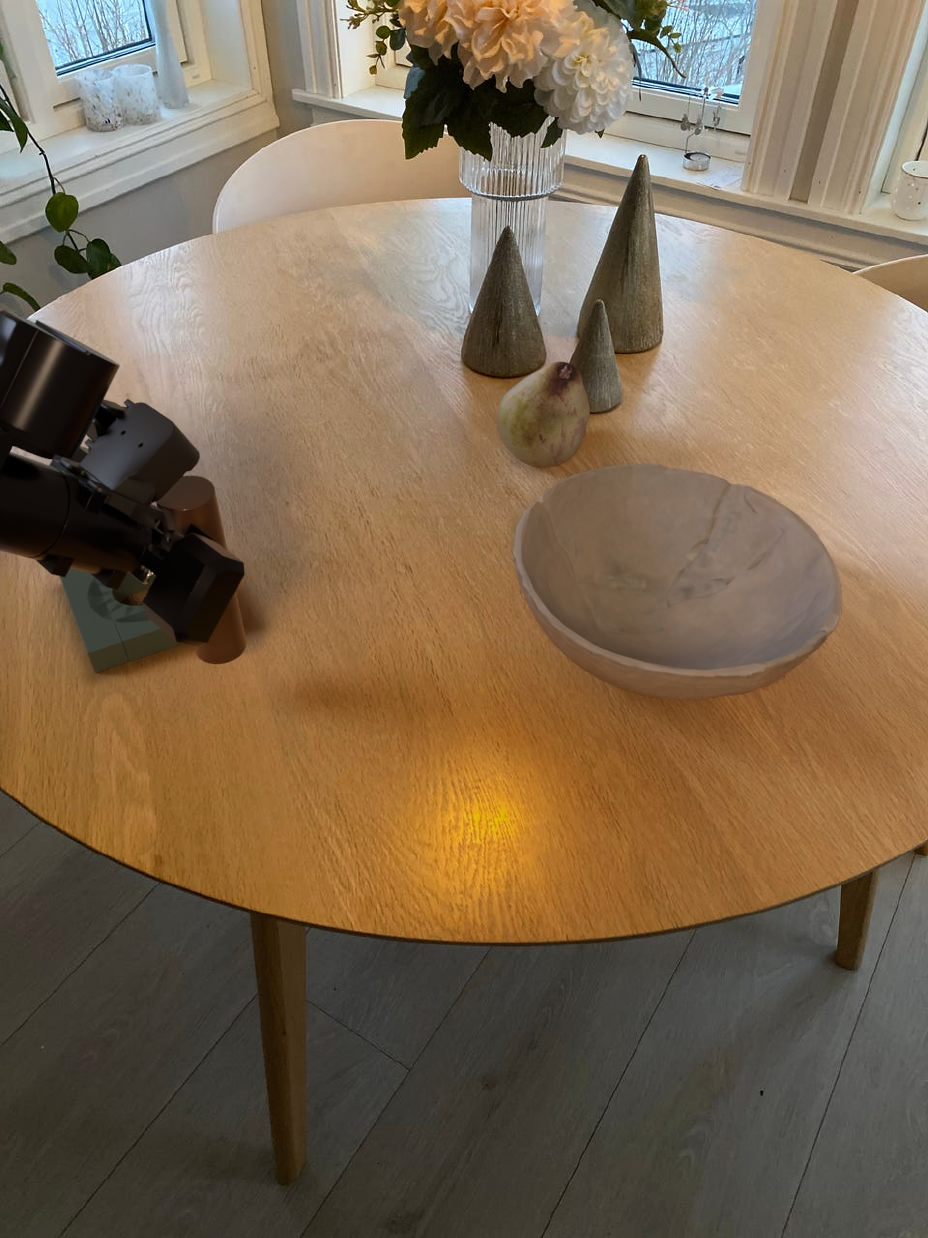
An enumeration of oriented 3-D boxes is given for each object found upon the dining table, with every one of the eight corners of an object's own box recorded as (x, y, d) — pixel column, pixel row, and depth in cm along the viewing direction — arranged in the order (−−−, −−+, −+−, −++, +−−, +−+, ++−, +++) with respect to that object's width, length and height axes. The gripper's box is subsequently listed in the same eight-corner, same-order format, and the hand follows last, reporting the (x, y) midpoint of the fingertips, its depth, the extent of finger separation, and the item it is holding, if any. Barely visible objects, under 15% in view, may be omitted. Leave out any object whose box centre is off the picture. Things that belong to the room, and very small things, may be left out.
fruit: (561, 492, 99) (571, 389, 91) (479, 467, 102) (482, 365, 94) (597, 443, 106) (610, 343, 97) (520, 421, 109) (525, 322, 101)
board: (95, 673, 80) (87, 653, 78) (64, 588, 88) (56, 568, 86) (232, 626, 84) (228, 606, 83) (192, 549, 92) (187, 529, 90)
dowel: (223, 671, 74) (186, 516, 63) (184, 652, 75) (142, 497, 65) (257, 640, 76) (226, 486, 66) (218, 622, 78) (182, 468, 67)
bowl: (631, 510, 97) (644, 425, 90) (870, 644, 84) (908, 557, 77) (443, 636, 84) (442, 548, 77) (691, 821, 70) (717, 734, 63)
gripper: (189, 455, 52) (355, 525, 66) (20, 339, 61) (196, 421, 75) (97, 631, 53) (278, 664, 67) (-55, 491, 63) (131, 545, 76)
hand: (219, 565), depth 71 cm, fingers closed on dowel, 4 cm apart
